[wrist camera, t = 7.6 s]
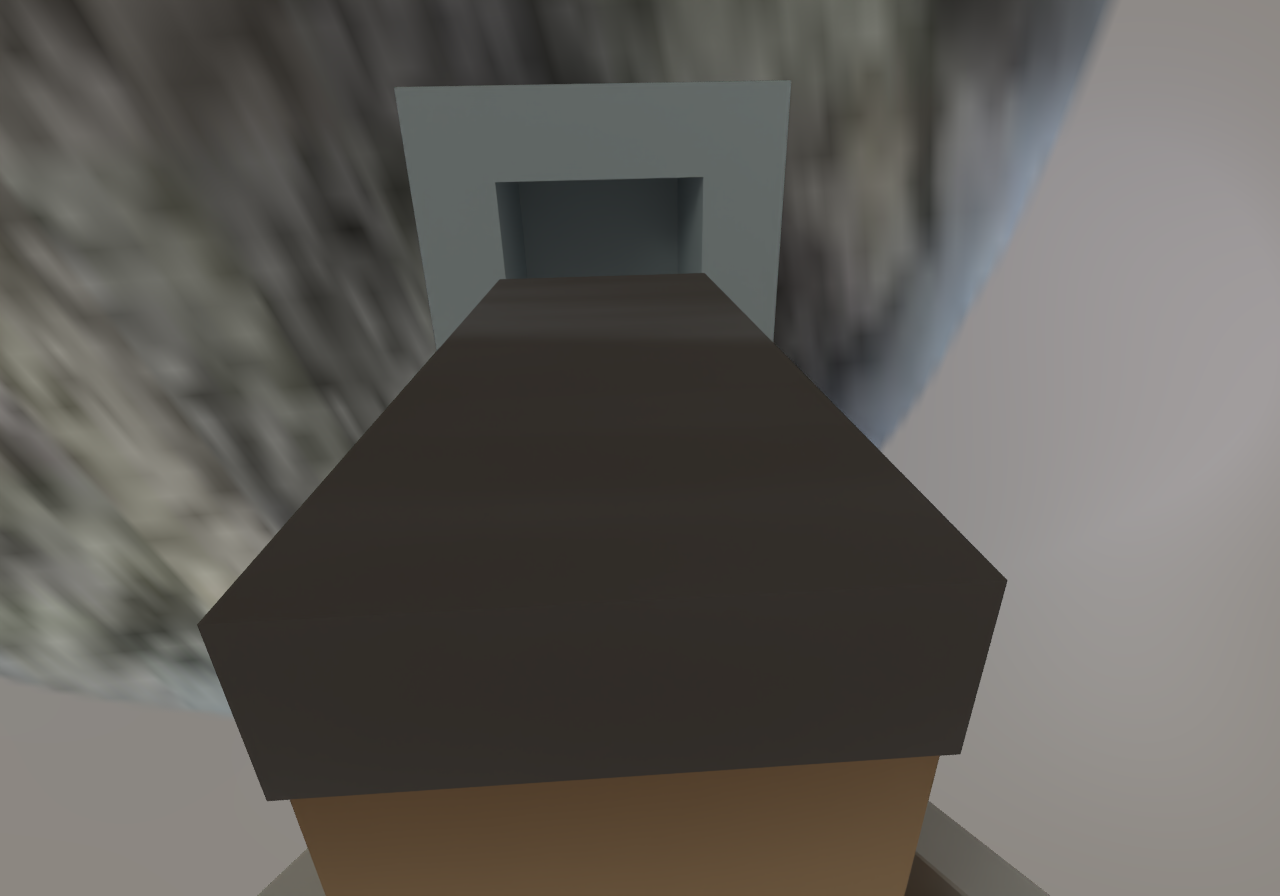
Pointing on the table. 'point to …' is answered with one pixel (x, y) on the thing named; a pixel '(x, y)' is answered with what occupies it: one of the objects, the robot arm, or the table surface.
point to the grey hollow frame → (596, 186)
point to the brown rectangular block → (608, 620)
